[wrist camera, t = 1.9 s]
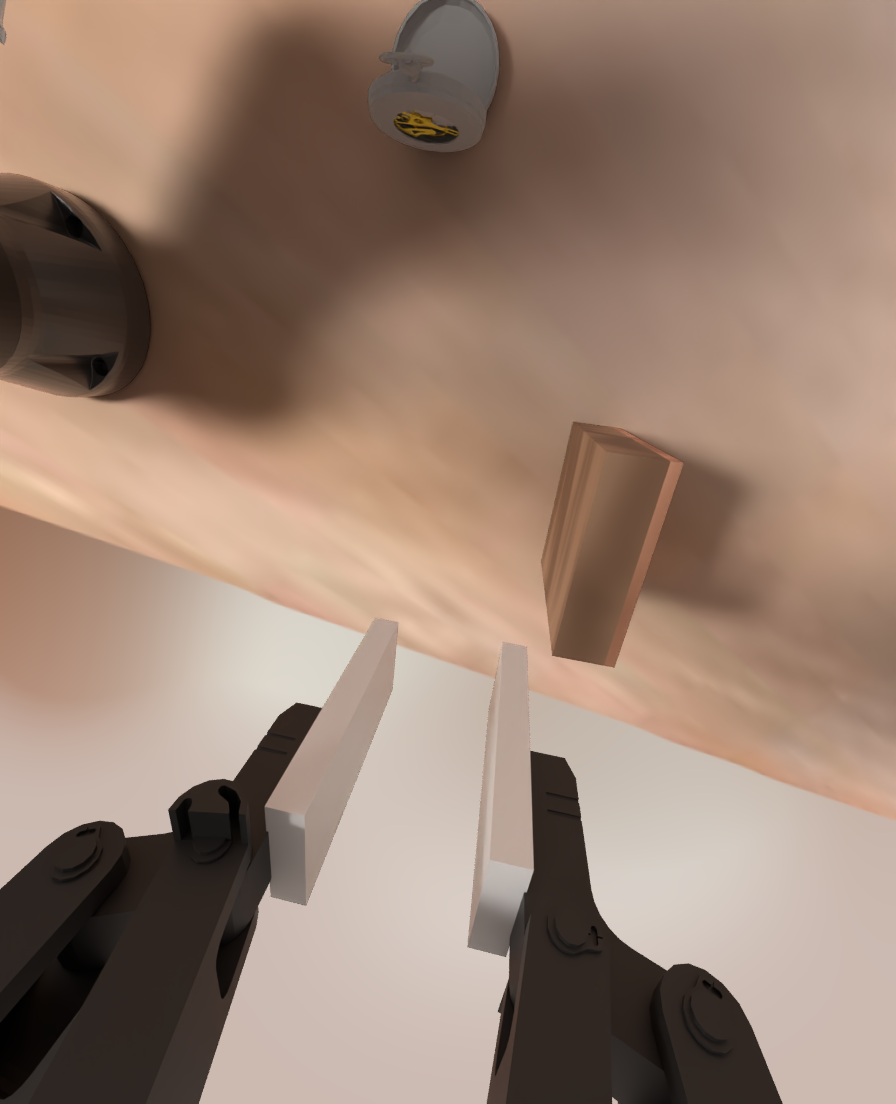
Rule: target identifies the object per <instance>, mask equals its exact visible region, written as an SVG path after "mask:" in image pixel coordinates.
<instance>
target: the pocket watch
mask: <svg viewBox="0 0 896 1104" xmlns="http://www.w3.org/2000/svg"><path fill="white" fill-rule="evenodd" d="M379 58H380V60H381V61H382V62H385V63H388V64H391V71H390V72H388V73H386V74H384V75H382V76H380V77H378V78H376V79H375V80H373V82H372V84H371V86H370V87H369V89H368V105H369V111H370V117H371V119H372V121H373V122H374V124H375V125H376V126H377V128H378V129H379V130H381V131H382V132H383V133H384V134H386V135H387V136H389V137H391V138H392V139H394V140H396V141H398V142H400V143H402V144H405V145H408V146H411V147H414V148H417V149H422V150H427V151H434V152H457V151H461V150H465V149H468V148H471V147H473V146H474V145H476V144H477V143H478V142H479V141H480V139H481V137H482V134H483V131H484V129H485V124H486V115H487V113H486V112H487V110H488V108H489V106H490V104H491V102H492V100H493V97H494V94H495V90H496V87H497V81H498V75H499V49H498V41H497V37H496V33H495V30H494V28H493V25H492V22H491V20H490V19H489V17H488V15H487V14H486V12H485V11H484V9H483V7H482V6H481V5H479V4H478V3H477V2H476V1H475V0H421V1H420V2H419V3H417V4H416V5H415V6H414V8H413V9H412V10H411V11H410V12H409V13H408V14H407V16H406V18H405V20H404V22H403V24H402V25H401V27H400V30H399V32H398V34H397V36H396V40H395V43H394V47H393V52H388V53H382V54H381V55H380V56H379Z"/></svg>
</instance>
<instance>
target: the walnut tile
mask: <svg viewBox="0 0 896 1104" xmlns="http://www.w3.org/2000/svg"><path fill="white" fill-rule="evenodd" d="M683 464H684V463H682V462H681V461H679V460H677V459H675V458H673V457H671V456H670V455H668V454H666V453H664V452H662V451H661V450H659V449H657V448H655V447H653V446H651V445H650V444H648V443H646V442H644V441H642V440H640V439H639V438H637V437H635V436H633V435H631V434H629V433H628V432H626V431H624V430H622V429H620V428H613V427H606V426H599V425H592V424H585V423H577V422H573V425H572V429H571V433H570V438H569V442H568V446H567V451H566V455H565V460H564V464H563V468H562V473H561V477H560V481H559V486H558V490H557V495H556V499H555V503H554V508H553V512H552V516H551V521H550V525H549V530H548V534H547V538H546V543H545V547H544V551H543V556H542V560H541V564H542V572H543V581H544V589H545V598H546V606H547V614H548V623H549V631H550V640H551V648H552V656H556V657H562V658H567V659H572V660H577V661H583V662H588V663H593V664H598V665H604V666H609V667H615V664H616V661H617V658H618V655H619V653H620V650H621V647H622V644H623V641H624V638H625V635H626V632H627V629H628V626H629V623H630V620H631V617H632V614H633V611H634V608H635V605H636V602H637V600H638V597H639V594H640V591H641V588H642V585H643V582H644V579H645V576H646V573H647V570H648V567H649V564H650V561H651V558H652V555H653V552H654V549H655V546H656V544H657V541H658V538H659V535H660V532H661V529H662V526H663V523H664V520H665V517H666V514H667V511H668V508H669V505H670V502H671V499H672V496H673V493H674V491H675V488H676V485H677V482H678V479H679V476H680V473H681V470H682V467H683Z"/></svg>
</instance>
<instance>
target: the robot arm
mask: <svg viewBox="0 0 896 1104" xmlns="http://www.w3.org/2000/svg"><path fill="white" fill-rule="evenodd" d="M5 4H6V0H0V42H1V43H2V44H3V45H4V43H5V41H6V32H5V30H4V28H3V25H2V24H3V17H4V10H5ZM149 337H150V315H149V307H148V301H147V297H146V293H145V289H144V286H143V283H142V280H141V277H140V274H139V272H138V269H137V267H136V265H135V263H134V261H133V259H132V257H131V255H130V253H129V251H128V250H127V248H126V246H125V245H124V243H123V242H122V240H121V239H120V237H119V236H118V235H117V233H116V232H115V231H114V229H113V228H112V227H111V226H110V225H109V223H108V222H107V221H106V220H105V219H104V218H103V217H102V216H101V215H100V214H99V213H98V212H97V211H95V210H94V209H93V208H92V207H91V206H89V205H88V204H87V203H85V202H84V201H83V200H81V199H79V198H78V197H76V196H74V195H73V194H71V193H69V192H67V191H64V190H62V189H59V188H57V187H54V186H52V185H49V184H47V183H44V182H42V181H39V180H37V179H34V178H31V177H27V176H23V175H19V174H12V173H0V380H3V381H6V382H10V383H14V384H17V385H21V386H25V387H28V388H32V389H35V390H39V391H43V392H46V393H50V394H54V395H59V396H66V397H88V396H102V395H107V394H111V393H114V392H116V391H118V390H120V389H122V388H123V387H125V386H126V385H127V384H128V383H130V382H131V381H132V379H133V378H134V377H135V376H136V375H137V373H138V372H139V370H140V368H141V366H142V364H143V362H144V359H145V357H146V353H147V349H148V345H149ZM397 633H398V622H394V621H389V620H384V619H378V618H375V619H374V621H373V623H372V624H371V626H370V628H369V630H368V631H367V633H366V635H365V636H364V638H363V640H362V642H361V643H360V645H359V647H358V648H357V650H356V652H355V653H354V655H353V657H352V659H351V660H350V662H349V664H348V665H347V667H346V669H345V670H344V672H343V674H342V676H341V677H340V679H339V681H338V682H337V684H336V686H335V688H334V689H333V691H332V693H331V694H330V696H329V698H328V699H327V701H326V703H325V704H324V707H323V708H319V707H315V706H310V705H305V704H301V703H295V704H294V705H293V706H291V707H290V708H289V709H287V710H286V711H284V712H283V713H282V714H280V715H279V716H278V718H277V719H276V721H275V722H274V723H273V725H272V726H271V728H270V729H269V730H268V732H267V735H265V736H264V738H263V739H262V741H261V742H260V744H259V745H258V747H257V749H256V750H254V752H253V753H252V755H251V756H250V758H249V759H248V760H247V762H246V763H245V765H244V766H243V768H242V769H241V770H240V772H239V773H238V775H237V776H236V778H235V779H234V781H230V780H226V779H220V780H209V781H207V782H204V783H202V784H199V785H196V786H194V787H192V788H191V789H189V790H188V791H187V792H185V793H184V794H182V795H181V796H180V797H178V799H177V800H176V801H175V802H174V804H173V805H172V806H171V807H170V808H169V810H168V811H169V816H170V821H171V826H172V831H173V832H171V833H166V834H157V835H148V836H139V837H129V838H125V836H124V832H123V829H122V828H121V827H119V826H118V825H116V824H115V823H114V822H105V821H97V822H92V823H88V824H83V825H81V826H79V827H76V828H74V829H72V830H70V831H68V832H66V833H64V834H63V835H61V836H60V837H59V838H57V839H56V840H55V841H53V842H52V843H51V844H49V845H48V846H47V847H46V848H44V849H43V850H42V851H41V852H40V853H39V854H38V855H37V856H36V857H35V858H34V859H33V860H32V861H30V862H29V863H28V864H27V865H26V866H25V867H24V868H23V869H22V870H21V871H20V872H19V873H17V874H16V875H15V876H14V877H13V878H12V879H11V880H10V881H9V882H8V883H7V884H6V885H4V886H3V887H2V888H1V889H0V1104H199V1101H200V1098H201V1095H202V1092H203V1089H204V1085H205V1082H206V1079H207V1076H208V1073H209V1070H210V1067H211V1064H212V1061H213V1058H214V1055H215V1052H216V1049H217V1046H218V1042H219V1039H220V1036H221V1033H222V1030H223V1027H224V1024H225V1021H226V1018H227V1015H228V1012H229V1009H230V1005H231V1003H232V999H233V996H234V993H235V990H236V987H237V984H238V981H239V978H240V975H241V972H242V969H243V966H244V963H245V960H246V956H247V953H248V950H249V947H250V944H251V941H252V938H253V935H254V932H255V929H256V925H257V918H258V912H259V911H258V905H259V903H260V901H261V899H262V896H263V895H264V893H265V891H266V889H267V887H268V884H269V882H270V891H271V897H274V898H278V899H282V900H286V901H290V902H293V903H297V904H301V905H307V902H308V900H309V897H310V894H311V892H312V890H313V887H314V884H315V882H316V879H317V877H318V875H319V872H320V870H321V867H322V865H323V862H324V860H325V857H326V855H327V852H328V850H329V847H330V845H331V842H332V840H333V837H334V834H335V832H336V830H337V827H338V825H339V822H340V820H341V817H342V815H343V812H344V809H345V807H346V805H347V802H348V799H349V797H350V795H351V792H352V790H353V787H354V785H355V782H356V780H357V777H358V775H359V772H360V769H361V767H362V765H363V762H364V760H365V757H366V755H367V752H368V749H369V747H370V744H371V742H372V740H373V737H374V734H375V732H376V730H377V727H378V725H379V722H380V720H381V717H382V715H383V712H384V709H385V707H386V705H387V702H388V699H389V697H390V695H391V692H392V688H393V678H394V666H395V655H396V644H397ZM473 881H474V882H473V892H472V904H471V915H470V926H469V936H468V947H469V948H473V949H477V950H481V951H485V952H488V953H492V954H497V955H500V956H504V957H506V955H507V952H508V949H509V946H510V959H509V980H508V983H507V986H506V989H505V992H504V995H503V998H502V1000H501V1003H500V1007H499V1010H498V1012H499V1013H501V1017H500V1023H499V1030H498V1036H497V1042H496V1049H495V1055H494V1061H493V1067H492V1074H491V1080H490V1086H489V1093H488V1099H487V1104H612V1097H613V1098H614V1099H616V1100H617V1101H618V1104H782V1101H781V1099H780V1096H779V1094H778V1091H777V1089H776V1086H775V1084H774V1081H773V1079H772V1076H771V1074H770V1072H769V1069H768V1066H767V1064H766V1061H765V1059H764V1057H763V1054H762V1052H761V1049H760V1047H759V1044H758V1042H757V1039H756V1037H755V1034H754V1032H753V1029H752V1027H751V1025H750V1023H749V1021H748V1019H747V1017H746V1016H745V1014H744V1012H743V1010H742V1008H741V1006H740V1004H739V1003H738V1002H737V1000H736V999H735V998H734V997H733V996H732V994H731V993H730V992H729V991H728V990H727V988H726V987H725V986H724V985H723V984H722V983H721V982H720V981H719V980H717V979H716V978H715V977H713V976H712V975H711V974H709V973H708V972H707V971H706V970H704V969H701V968H698V967H696V966H693V965H691V964H678V965H673V966H672V967H671V968H670V969H669V970H668V971H667V970H665V969H663V968H662V967H660V966H659V965H657V964H656V963H654V962H652V961H651V960H649V959H648V958H646V957H644V956H643V955H641V954H640V953H638V952H636V951H635V950H633V949H632V948H630V947H629V946H628V945H626V944H625V943H624V942H622V941H621V940H620V939H619V938H617V936H616V935H615V934H614V933H613V932H612V931H611V930H610V929H609V927H608V926H607V924H606V923H605V921H604V920H603V919H602V917H601V916H600V914H599V912H598V909H597V907H596V905H595V902H594V899H593V895H592V891H591V885H590V878H589V870H588V863H587V856H586V849H585V842H584V834H583V827H582V821H581V813H580V806H579V803H578V792H577V784H576V778H575V776H574V774H573V772H572V771H571V769H570V767H569V765H568V764H567V762H566V760H565V758H562V757H557V756H552V755H547V754H543V753H538V752H533V751H530V727H529V695H528V660H527V647H526V646H521V645H515V644H510V643H505V642H503V643H502V648H501V653H500V658H499V663H498V667H497V672H496V677H495V682H494V687H493V692H492V697H491V701H490V706H489V713H488V725H487V736H486V747H485V758H484V770H483V780H482V792H481V802H480V814H479V826H478V836H477V848H476V859H475V869H474V880H473Z"/></svg>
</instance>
